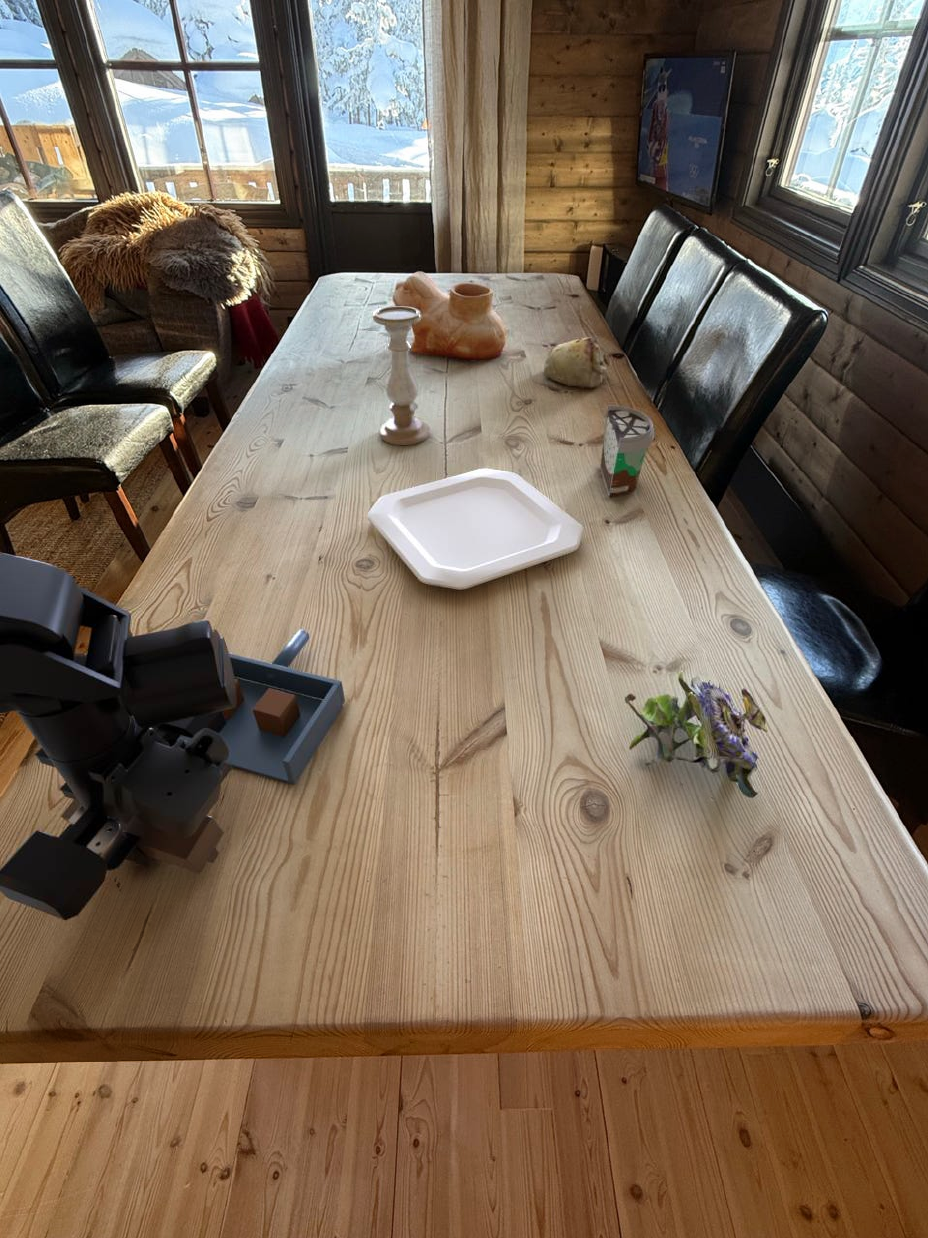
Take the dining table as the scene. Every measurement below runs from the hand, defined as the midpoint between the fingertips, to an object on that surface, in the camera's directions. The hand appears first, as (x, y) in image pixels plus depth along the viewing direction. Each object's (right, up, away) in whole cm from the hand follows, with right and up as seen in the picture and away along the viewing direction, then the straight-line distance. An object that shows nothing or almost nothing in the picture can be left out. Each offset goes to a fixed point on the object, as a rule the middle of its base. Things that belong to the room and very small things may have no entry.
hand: (158, 846), depth 56 cm
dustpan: (+6, +11, +12) cm, 18 cm away
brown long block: (0, +1, -1) cm, 1 cm away
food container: (+51, +41, +47) cm, 80 cm away
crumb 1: (+1, +11, +9) cm, 14 cm away
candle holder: (+16, +52, +60) cm, 81 cm away
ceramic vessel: (+23, +81, +93) cm, 125 cm away
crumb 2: (+7, +9, +7) cm, 14 cm away
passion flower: (+47, +6, +6) cm, 48 cm away
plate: (+27, +31, +36) cm, 55 cm away
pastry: (+49, +70, +80) cm, 117 cm away
